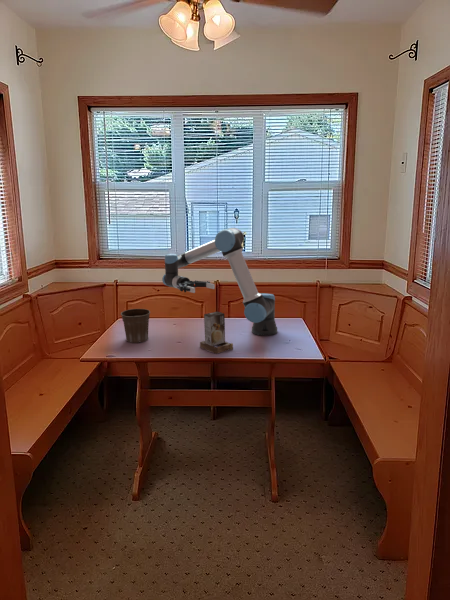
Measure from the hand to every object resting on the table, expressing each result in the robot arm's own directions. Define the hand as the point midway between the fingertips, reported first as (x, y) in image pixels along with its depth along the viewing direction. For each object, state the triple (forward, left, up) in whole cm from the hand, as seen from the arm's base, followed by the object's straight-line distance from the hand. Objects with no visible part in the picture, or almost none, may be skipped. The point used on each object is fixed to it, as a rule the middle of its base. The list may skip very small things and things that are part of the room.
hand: (204, 288), depth 239 cm
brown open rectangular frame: (+3, +13, -30) cm, 33 cm away
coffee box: (+4, +12, -27) cm, 30 cm away
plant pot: (+27, -28, -30) cm, 49 cm away
